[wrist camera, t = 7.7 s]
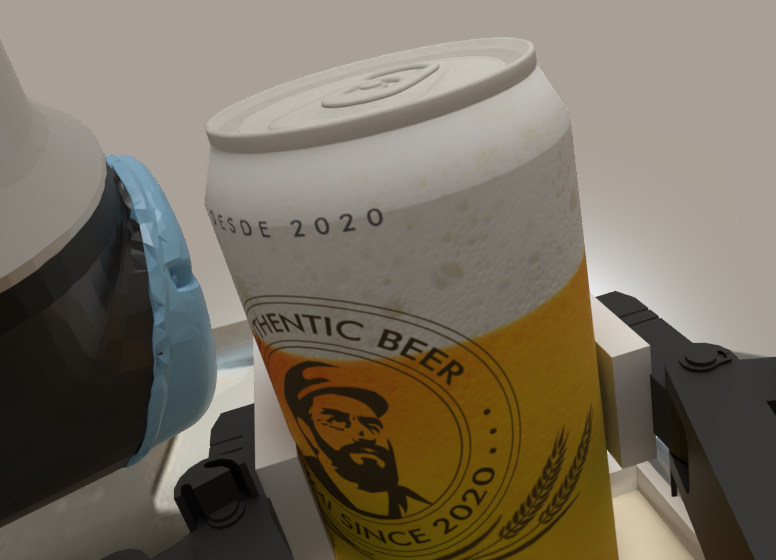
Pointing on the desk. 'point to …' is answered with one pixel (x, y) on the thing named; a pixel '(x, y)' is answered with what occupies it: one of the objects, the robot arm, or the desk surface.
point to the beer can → (423, 301)
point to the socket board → (650, 512)
